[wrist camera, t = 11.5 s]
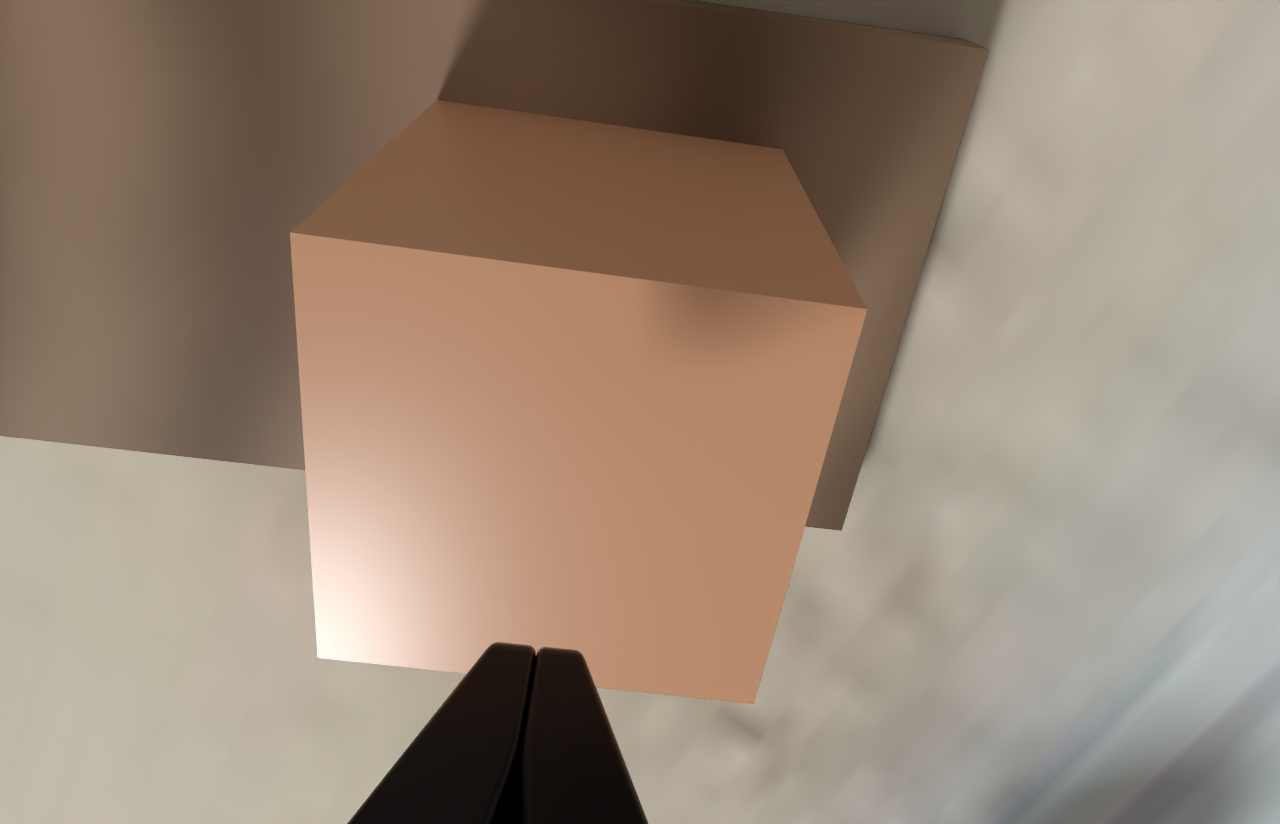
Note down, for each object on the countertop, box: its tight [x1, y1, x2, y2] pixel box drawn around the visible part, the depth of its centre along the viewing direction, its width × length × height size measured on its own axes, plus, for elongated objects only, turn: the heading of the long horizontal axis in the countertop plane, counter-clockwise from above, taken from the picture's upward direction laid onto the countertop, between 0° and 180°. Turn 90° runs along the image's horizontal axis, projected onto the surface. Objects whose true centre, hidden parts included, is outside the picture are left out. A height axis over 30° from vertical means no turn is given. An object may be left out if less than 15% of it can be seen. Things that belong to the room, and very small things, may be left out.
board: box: [0, 0, 988, 531], centre depth 17 cm, size 26×10×1 cm, turn 83°
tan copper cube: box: [290, 100, 867, 704], centre depth 14 cm, size 6×6×7 cm
